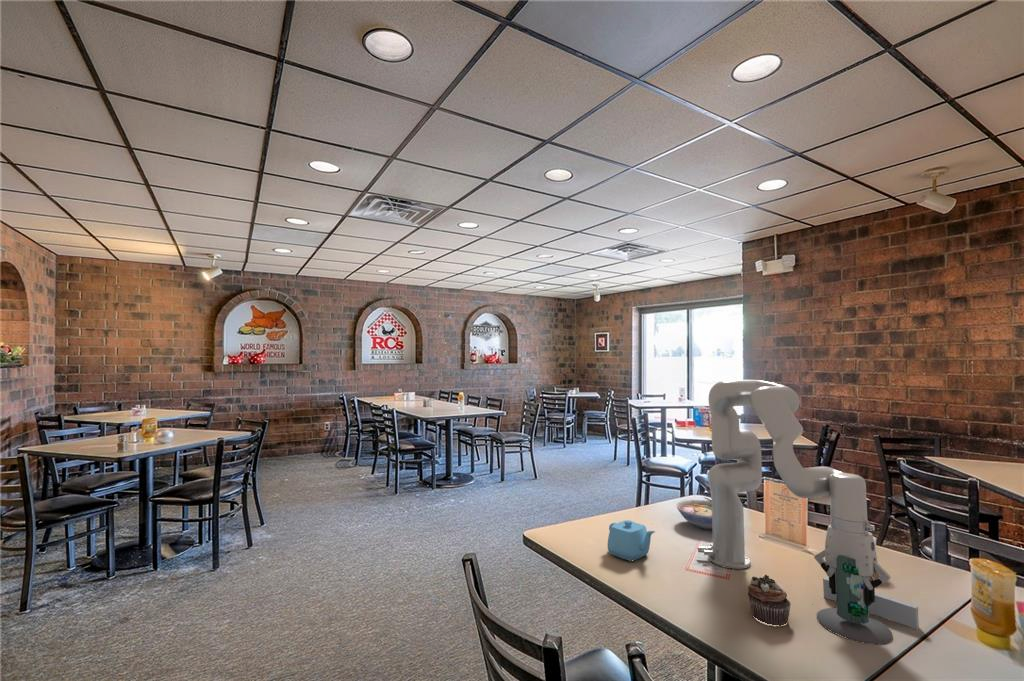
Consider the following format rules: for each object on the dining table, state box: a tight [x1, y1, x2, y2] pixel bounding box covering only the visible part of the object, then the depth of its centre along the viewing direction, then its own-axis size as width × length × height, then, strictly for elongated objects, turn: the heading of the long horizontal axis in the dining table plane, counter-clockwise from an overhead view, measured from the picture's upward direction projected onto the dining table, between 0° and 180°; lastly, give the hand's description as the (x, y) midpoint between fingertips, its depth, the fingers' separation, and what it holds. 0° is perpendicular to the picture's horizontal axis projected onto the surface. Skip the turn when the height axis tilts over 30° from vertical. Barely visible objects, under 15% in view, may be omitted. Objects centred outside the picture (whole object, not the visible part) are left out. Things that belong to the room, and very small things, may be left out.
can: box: [835, 555, 869, 624], centre depth 116 cm, size 6×6×15 cm
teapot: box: [607, 519, 656, 562], centre depth 158 cm, size 12×18×12 cm
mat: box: [816, 607, 893, 645], centre depth 115 cm, size 15×15×1 cm
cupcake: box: [747, 574, 792, 626], centre depth 119 cm, size 10×10×10 cm
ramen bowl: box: [675, 497, 712, 530], centre depth 187 cm, size 25×23×8 cm
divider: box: [822, 577, 920, 630], centre depth 122 cm, size 2×20×5 cm, turn 37°
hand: (851, 597), depth 116 cm, fingers closed on can, 6 cm apart
